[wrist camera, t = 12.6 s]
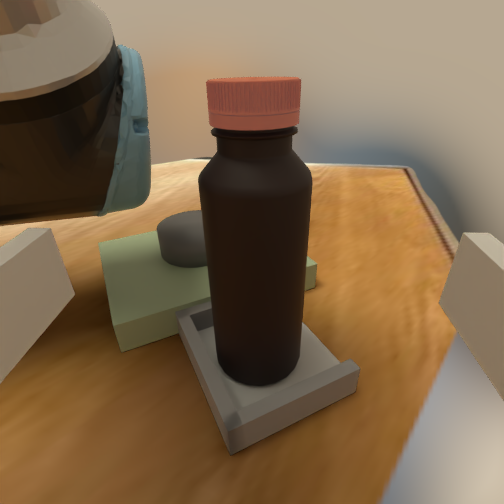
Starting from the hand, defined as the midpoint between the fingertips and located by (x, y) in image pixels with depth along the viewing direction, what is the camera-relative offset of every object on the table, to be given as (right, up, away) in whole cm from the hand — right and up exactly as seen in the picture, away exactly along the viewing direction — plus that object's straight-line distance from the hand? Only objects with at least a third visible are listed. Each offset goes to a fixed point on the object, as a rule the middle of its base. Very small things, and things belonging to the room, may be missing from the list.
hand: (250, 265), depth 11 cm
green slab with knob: (-3, -5, +22) cm, 23 cm away
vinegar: (+1, -8, +16) cm, 18 cm away
